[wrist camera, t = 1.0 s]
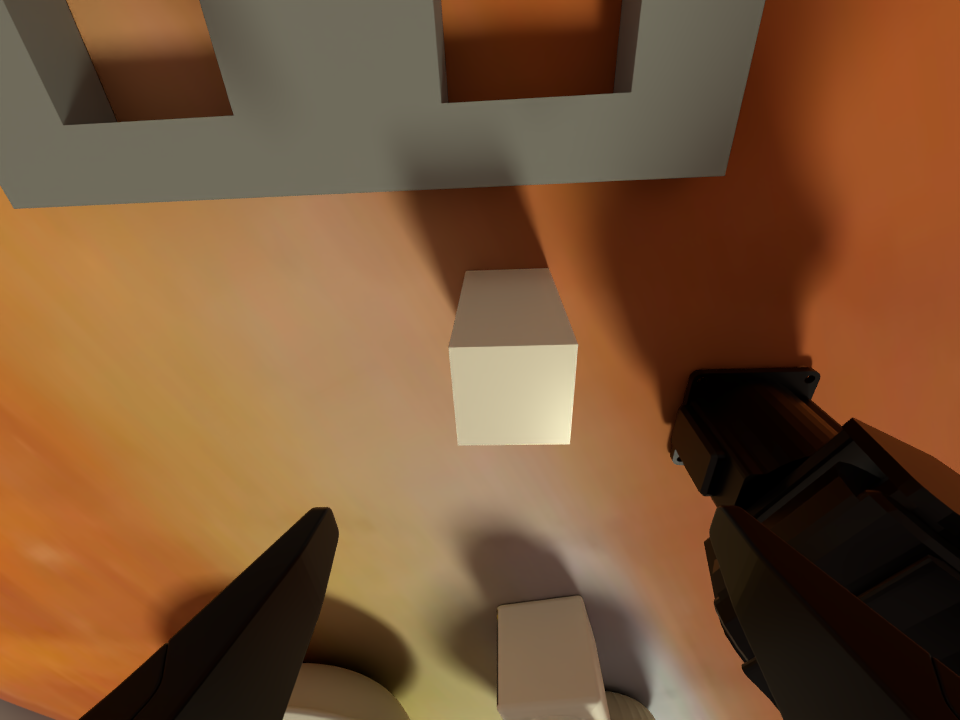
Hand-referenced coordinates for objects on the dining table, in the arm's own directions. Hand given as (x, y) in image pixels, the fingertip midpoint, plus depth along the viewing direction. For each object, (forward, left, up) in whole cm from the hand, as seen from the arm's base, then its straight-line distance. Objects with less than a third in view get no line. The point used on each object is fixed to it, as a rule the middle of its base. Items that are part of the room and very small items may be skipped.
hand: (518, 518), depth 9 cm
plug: (0, 0, -13) cm, 13 cm away
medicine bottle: (-3, +29, -13) cm, 32 cm away
